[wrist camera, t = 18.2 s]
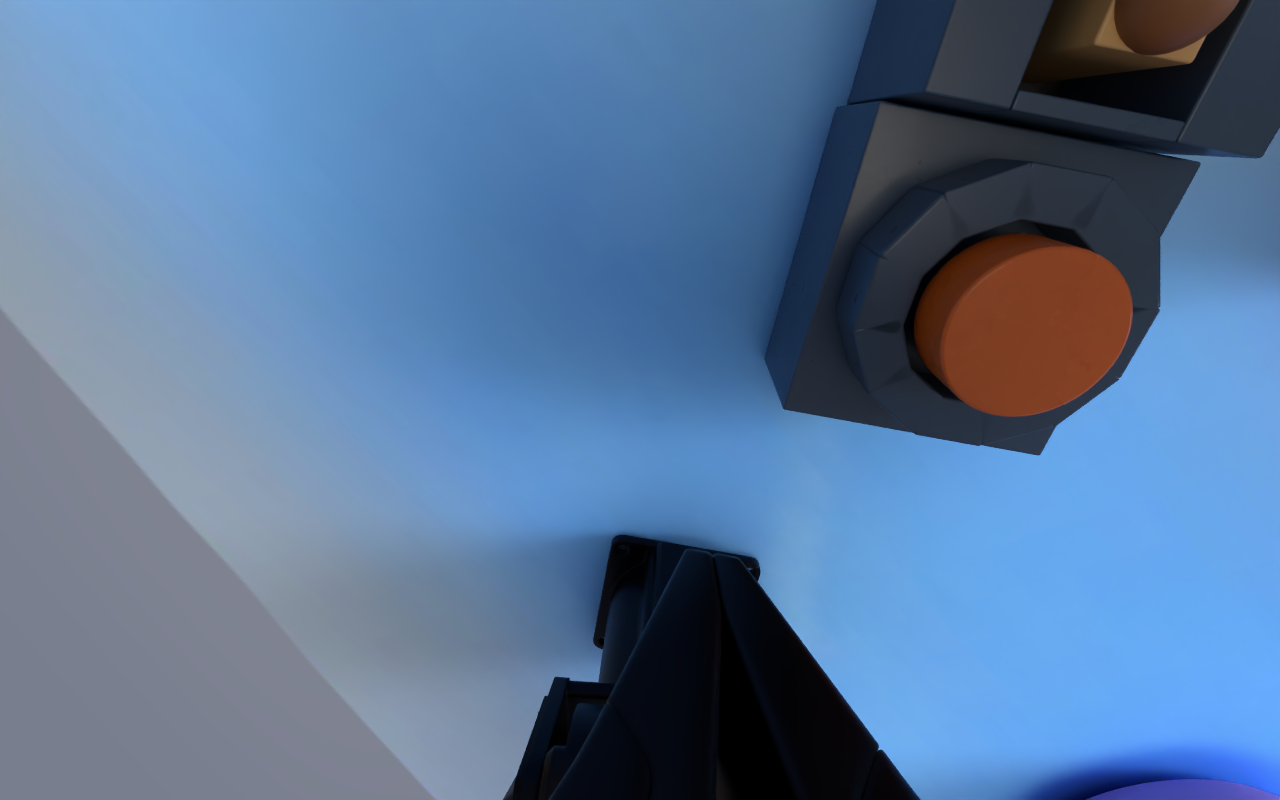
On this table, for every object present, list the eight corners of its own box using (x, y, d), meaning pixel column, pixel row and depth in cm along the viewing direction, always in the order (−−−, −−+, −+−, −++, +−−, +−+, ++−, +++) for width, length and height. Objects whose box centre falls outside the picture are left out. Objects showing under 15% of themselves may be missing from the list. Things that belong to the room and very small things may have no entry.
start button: (1036, 400, 15) (1078, 431, 14) (889, 373, 15) (913, 401, 14) (1115, 249, 13) (1174, 264, 12) (950, 217, 13) (986, 229, 12)
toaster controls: (975, 398, 21) (1077, 489, 16) (763, 359, 21) (793, 439, 16) (1090, 155, 18) (1273, 167, 12) (836, 106, 17) (907, 96, 12)
